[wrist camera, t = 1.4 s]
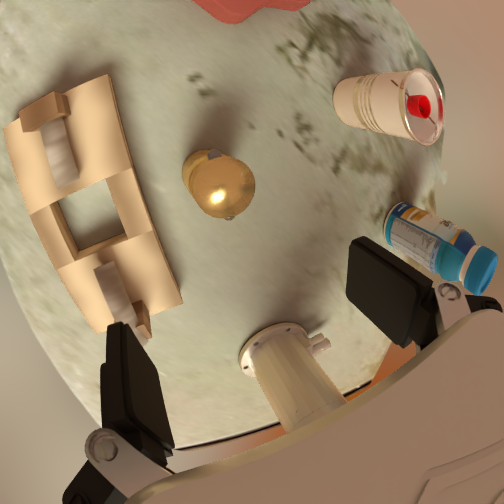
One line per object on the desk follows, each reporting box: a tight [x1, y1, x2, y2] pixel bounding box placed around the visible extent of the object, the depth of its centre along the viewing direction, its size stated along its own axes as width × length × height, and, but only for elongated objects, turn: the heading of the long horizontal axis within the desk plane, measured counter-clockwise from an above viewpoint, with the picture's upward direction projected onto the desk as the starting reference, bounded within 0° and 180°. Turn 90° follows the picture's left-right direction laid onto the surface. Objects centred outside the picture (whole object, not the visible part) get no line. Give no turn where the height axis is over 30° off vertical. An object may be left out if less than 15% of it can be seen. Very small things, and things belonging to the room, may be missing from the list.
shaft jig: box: [3, 74, 183, 347], centre depth 21 cm, size 12×26×8 cm, turn 12°
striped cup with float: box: [333, 68, 444, 146], centre depth 25 cm, size 10×8×12 cm
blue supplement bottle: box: [384, 202, 498, 296], centre depth 34 cm, size 8×8×20 cm
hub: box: [182, 149, 255, 220], centre depth 24 cm, size 5×6×8 cm
